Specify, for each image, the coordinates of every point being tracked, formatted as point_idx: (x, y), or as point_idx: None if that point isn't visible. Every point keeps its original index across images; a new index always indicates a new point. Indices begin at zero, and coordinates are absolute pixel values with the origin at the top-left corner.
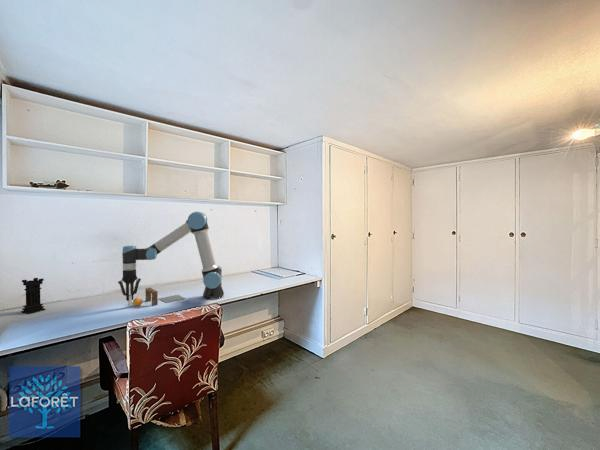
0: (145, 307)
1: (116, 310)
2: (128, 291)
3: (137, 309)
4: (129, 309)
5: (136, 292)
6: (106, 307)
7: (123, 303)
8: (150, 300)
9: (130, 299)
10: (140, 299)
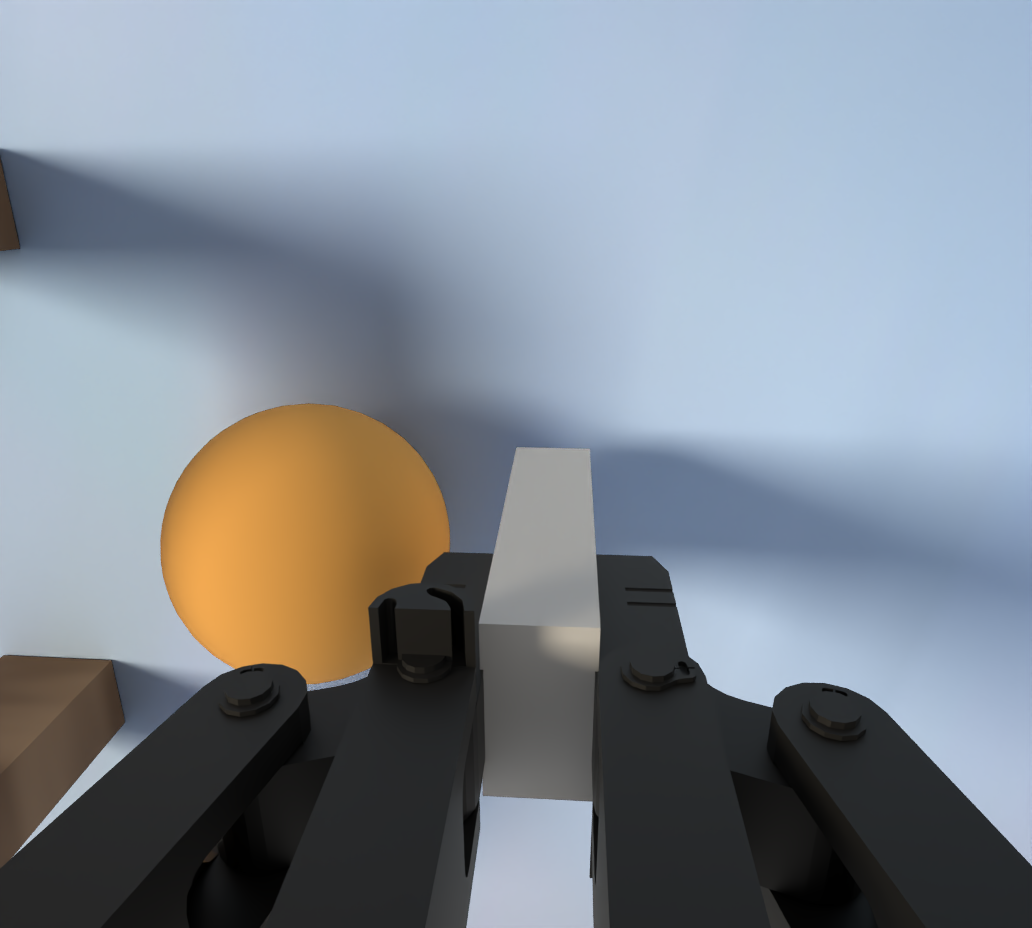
0: (207, 151)
1: (898, 473)
2: (645, 836)
3: (444, 114)
4: (619, 303)
5: (204, 693)
6: None
7: (565, 891)
8: (7, 664)
9: (545, 534)
10: (210, 481)
